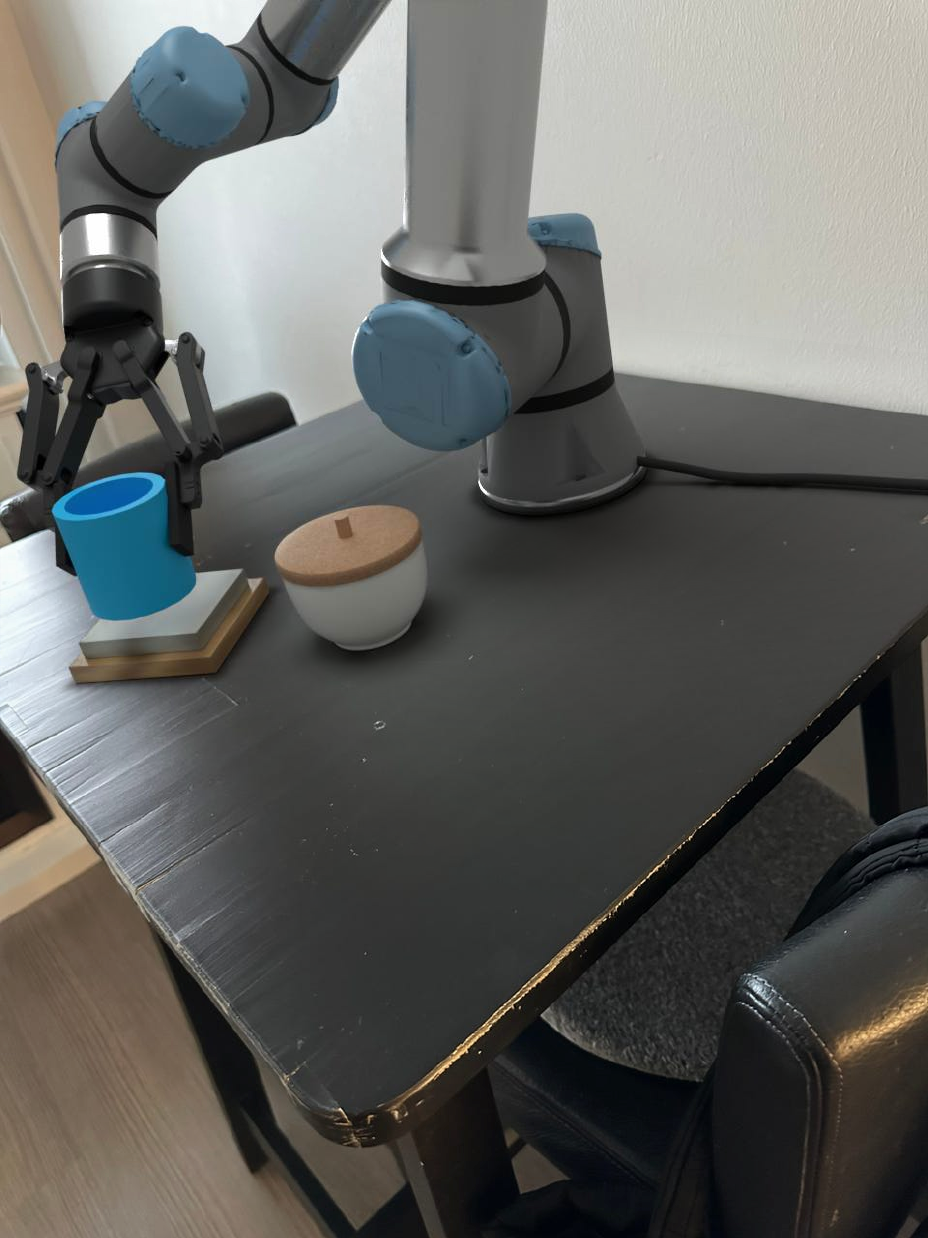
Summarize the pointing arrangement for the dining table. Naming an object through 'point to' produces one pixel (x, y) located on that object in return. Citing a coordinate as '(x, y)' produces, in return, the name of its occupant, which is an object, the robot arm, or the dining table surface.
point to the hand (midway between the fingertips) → (126, 560)
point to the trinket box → (356, 574)
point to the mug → (124, 546)
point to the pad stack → (174, 633)
